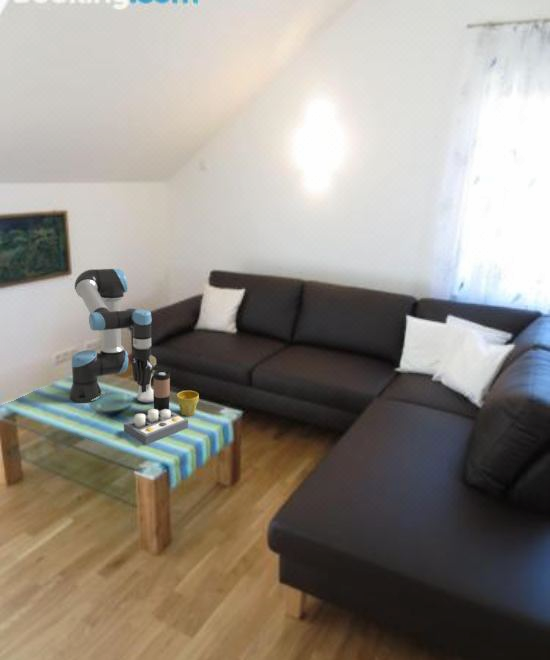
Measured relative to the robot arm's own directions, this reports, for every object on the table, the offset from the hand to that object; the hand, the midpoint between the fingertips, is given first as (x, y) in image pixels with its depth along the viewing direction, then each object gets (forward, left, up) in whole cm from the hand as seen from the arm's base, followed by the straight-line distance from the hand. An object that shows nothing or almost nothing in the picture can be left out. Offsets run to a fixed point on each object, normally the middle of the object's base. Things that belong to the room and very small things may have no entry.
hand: (142, 398), depth 215 cm
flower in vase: (-25, +22, -17) cm, 38 cm away
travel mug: (-11, +19, -17) cm, 28 cm away
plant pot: (-1, +27, -17) cm, 32 cm away
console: (+3, +6, -16) cm, 18 cm away
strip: (+7, +6, -12) cm, 15 cm away
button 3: (0, +13, -15) cm, 20 cm away
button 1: (0, -1, -13) cm, 13 cm away
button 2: (0, +6, -13) cm, 14 cm away
